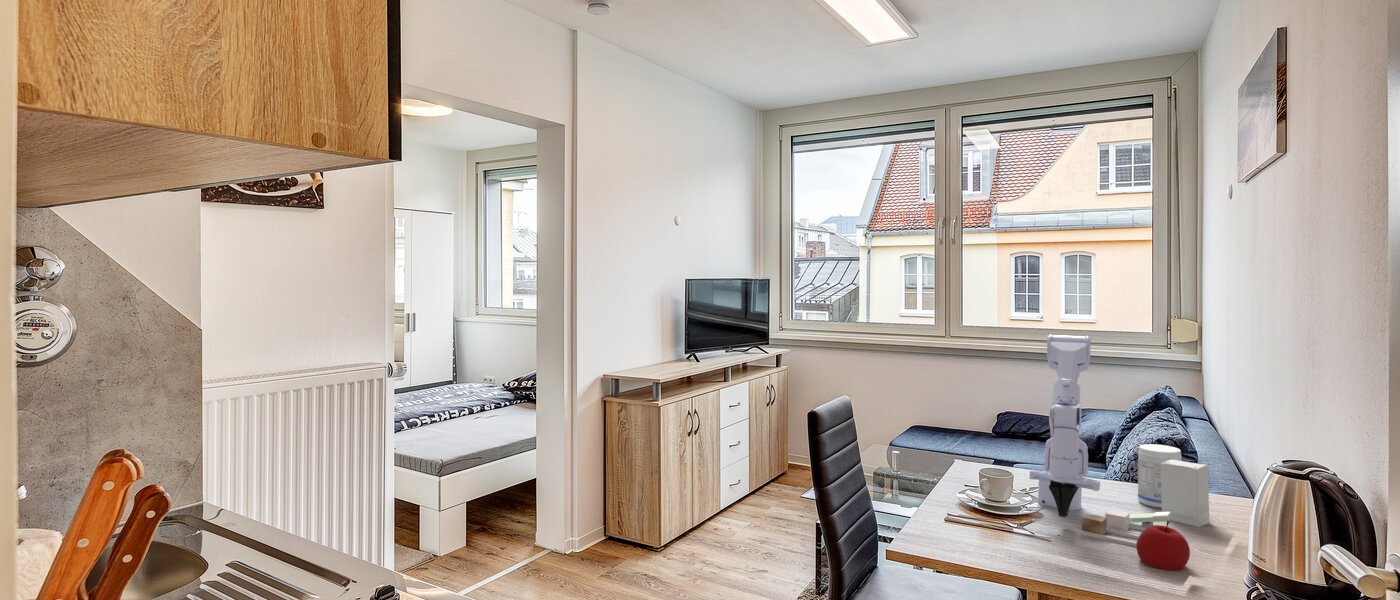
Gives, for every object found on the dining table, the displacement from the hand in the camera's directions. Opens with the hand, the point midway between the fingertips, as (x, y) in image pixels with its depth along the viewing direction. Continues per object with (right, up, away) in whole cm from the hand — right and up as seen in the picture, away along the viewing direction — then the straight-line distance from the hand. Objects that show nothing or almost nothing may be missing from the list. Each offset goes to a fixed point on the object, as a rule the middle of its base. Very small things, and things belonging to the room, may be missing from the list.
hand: (1063, 515), depth 168 cm
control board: (+13, -4, -3) cm, 14 cm away
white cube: (+12, -3, -1) cm, 12 cm away
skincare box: (+31, -4, +5) cm, 32 cm away
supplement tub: (+36, -4, +22) cm, 42 cm away
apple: (+9, -5, -22) cm, 24 cm away
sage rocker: (+19, 0, -1) cm, 19 cm away
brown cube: (+5, -3, -4) cm, 7 cm away
